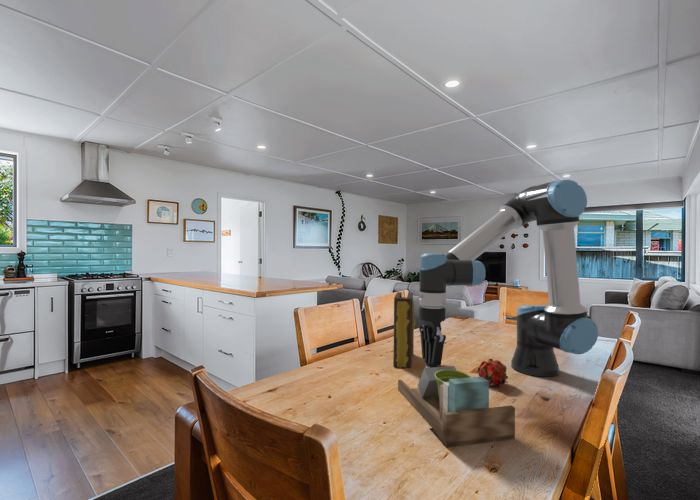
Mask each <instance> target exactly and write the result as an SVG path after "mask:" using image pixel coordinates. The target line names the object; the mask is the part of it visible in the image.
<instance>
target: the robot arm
mask: <svg viewBox="0 0 700 500" xmlns="http://www.w3.org/2000/svg"><path fill="white" fill-rule="evenodd" d="M587 206H588V197H587V193H586V192H585V189H584V188H583V187H582V186H581V185H579V184H578V182H576V181H575V180H571V179H561V180H559V179H558V180H554V181H550V182H549V181H548V182H546V183H543V184H539V185H533V186H530V187H526V188H525V189H523V190H521V191H520V192H518V193H517V194H516V195H514V196H513V197H511V198H510V199H509V200H508V201H506V202H505V203H504V204H502V205H501V206H500V207H499V208H498V212H497V213H496V214H495V215H493V216H492V217H491V218H490V219H489V220H487V221H486V222H485V223H483V224H482V225H480V226H479V227H478V228H477V229H475V230H474V231H473V232H471V233H470V234H468V236H466V237H465V238H463V240H461V241H460V242H459V243H458V244H456V245H455V246H454V247H453V248H451V249H449V251H448V252H446V253H433V252H432V253H431V252H430V253H429V252H428V253H426V252H425V253H423V254H421V255H420V258H419V259H420V261H419V268H418V270H419V295H418V296H417V297H418V299H419V302H418V303H419V305H420V306H419V307H418V319H419V320H421V321H423V322H422V325H419V333H420V344H421V345H420V347H421V356H422V360H424V363H425V368H432V367H442V366H441V365H442V360H443V352H444V346H445V345H444V344H445V343H446V339H447V336H446V334H443V333H442V324H441V323H442V322H444V321H446V304H447V286H448V287H451V286H453V287H455V286H456V287H457V286H465V287H466V286H470V287H473V286H479V285H482V284H483V283H484V282H485V279H486V267H485V264H484V263H483V262H482V261H479V260H476V259H477V258H478V257H480V256H481V255H482V254H484V253H485V252H486V251H487V250H489V249H490V248H492V247H493V246H494V245H495V244H496V243H498V242H499V241H500V240H501V239H502V238H504V237H506V235H508V234H509V233H510V232H511V231H513V230H518V229H520V228H521V227H523V226H525V224H528V223H531V222H536V227H537V228H539V229H540V230H541V231H542V236H543V237H542V239H543V240H542V241H543V248H544V250H543V252H544V259H545V260H544V261H545V262H544V263H545V271H546V273H545V274H546V283H547V294H548V304H547V305H546V304H544V305H543V304H532V305H531V304H527V305H525V304H524V305H523V304H522V305H519V306H518V307H517V311H516V346H515V349H514V353H513V357H511V361H510V363H511V364H510V365H511V366H510V367H511V368H512V369H513V370H514V371H517V372H519V373H522V374H526V375H528V376H529V375H530V376H534V377H545V378H546V377H547V378H548V377H555V376H558V375H559V374H560V365H559V363H558V361H557V358H556V354H555V350H554V348H555V349H557V350H560V351H563V352H564V353H569V354H573V355H582V354H583V355H584V354H586V353H588V352H589V351H591V350H592V348H593V347H594V346H595V345H596V343H597V340H598V337H599V328H598V325H597V324H596V323H595V322H594V321H593V320H592V319H590V318H589V317H588V309H587V308H586V307H585V306H584V305H583V304H581V296H580V295H581V293H580V283H579V272H578V271H579V270H578V260H577V247H576V237H575V227H576V226H577V225H578V224H579V223H580V216H582V214H583V213H585V211H586V210H585V209H587Z"/></svg>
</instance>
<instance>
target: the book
mask: <svg viewBox="0 0 700 500" xmlns="http://www.w3.org/2000/svg"><path fill="white" fill-rule="evenodd" d="M402 292H403V291H402ZM402 292H401V291H397V292H396V294H395V295H394V298H393V357H392V358H393V366H392V367H393V368H394V369H412V361H413V357H414V349H415V348H414V344H415V343H414V342H415V341H414V334H415V331H414V329H415V327H416V320H415V301H414V292H408V293H407V296H403V293H402Z"/></svg>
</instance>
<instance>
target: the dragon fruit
mask: <svg viewBox="0 0 700 500" xmlns="http://www.w3.org/2000/svg"><path fill="white" fill-rule="evenodd" d="M477 374H478V377H483V378H485V379H487V380H488V381H489V387H495V386H496V387H498V388H500V387H502V386H503V385H505V384H506V383H507V380H508V379H509V376H508V375H507V366H506V365H505V364H503V363H502V361H501V360H498V359H495V360H493V358H488V360H487V361H485V360H484V361H482V362H481V363H480V364H479V366H478V368H477Z"/></svg>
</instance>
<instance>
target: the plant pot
mask: <svg viewBox="0 0 700 500" xmlns="http://www.w3.org/2000/svg"><path fill="white" fill-rule="evenodd" d="M456 370H457V369H456ZM456 370H439V371H437V372H435V374H434V376H435V378H436V382H437V385H438V395H439V406H440V385H443V382H449V379H458V378H470V377H471V376H470V375H469V374H468V373H465V372H462V371H459V370H457V371H456Z"/></svg>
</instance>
